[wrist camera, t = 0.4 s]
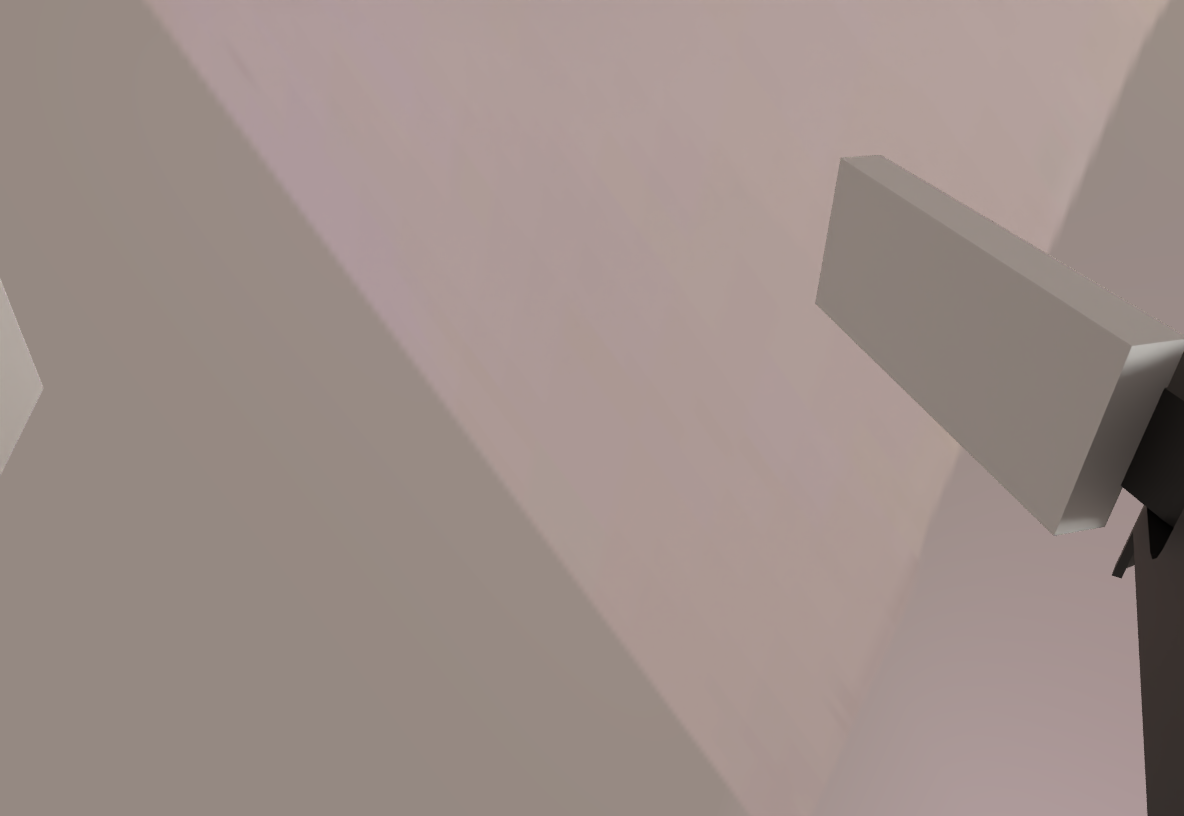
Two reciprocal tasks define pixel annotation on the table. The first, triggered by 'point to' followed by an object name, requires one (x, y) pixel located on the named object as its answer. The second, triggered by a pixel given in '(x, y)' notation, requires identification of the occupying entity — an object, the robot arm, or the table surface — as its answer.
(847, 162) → the robot arm
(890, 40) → the table surface
